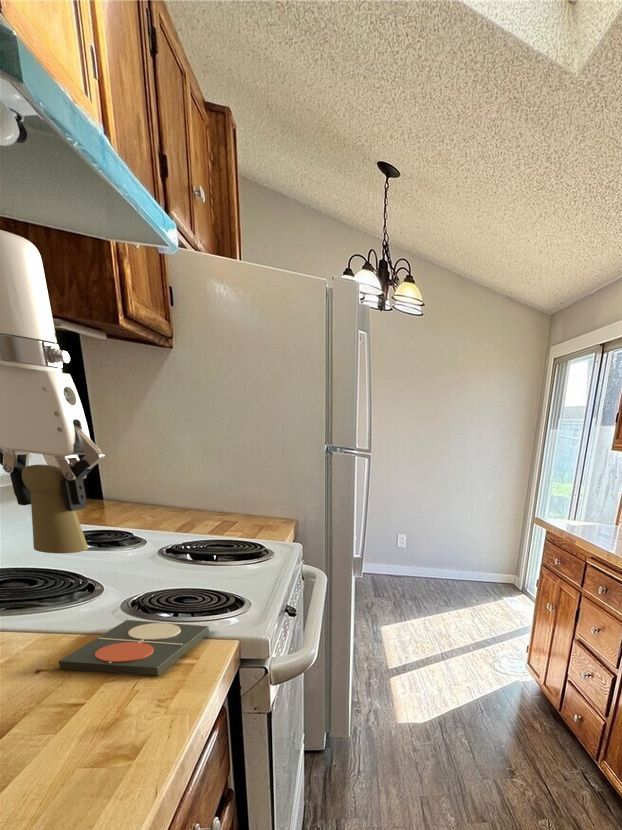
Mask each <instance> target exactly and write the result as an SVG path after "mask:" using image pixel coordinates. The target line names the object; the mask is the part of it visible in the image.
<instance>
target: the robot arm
mask: <svg viewBox="0 0 622 830" xmlns="http://www.w3.org/2000/svg"><path fill="white" fill-rule="evenodd" d="M43 264H44V263H43V260H42V255H41V254H40V252H39V250H38V248H37V247H36V246H35V244H33V243H32V241H30V240H28V239H26V238H25V237H23V236H20V235H17V234H15V233H13V232H9V231H5V230H2V229H0V465H1V466H2V469H3V471H4V472H5V473H7V474H9V476H10V480H11V485H12V489H13V494H14V496H15V497H16V501H17V502H16V503H17V504H18V505H19V506H29V505H30V506H31V492H30V490H29V489H28V488H27V487H26V486H25V484H24V482H23V480H22V471H23V469H24V468H25V467H27V466H29V462H30V455H31V454H38V455H44V456H45V455H47V456H53V457H54V459H55V461H56V463H57V464H58V467H60V469H61V471H62V473H63V475H64V477H65V479H64V480H61V486H62V491H63V496H64V501H65V506H66V509H67V510H69V511H80V510H84V509H85V510H86V507H87V505H86V503H87V496H86V491H85V485H84V479H86V478H87V477H88V476H87V475H88V474H89V473H90V472H91V471H92V470H93V469H94V467H95V466H97V465H98V464H99V463H100V462H102V461H103V460H104V459H105V454H104V452H102V449H100V448H99V446H97V445H96V444H95V442H94V441H93V440H92V439H91V437H90V431H89V427H88V422H87V419H86V416H85V412H84V408H83V404H82V402H81V399H80V396H79V393H78V390H77V387H76V385H75V383H74V381H73V378H72V376H71V374H70V373H65V372H63V363H66V364H69V363H70V361H71V357H70V354H69V353H68V351H66V350H62V349H60V346H59V344H58V341H57V335H56V330H55V323H54V320H53V319H54V318H53V314H52V309H51V303H50V297H49V292H48V287H47V286H48V285H47V281H46V276H45V270H44V265H43ZM83 455H84V456H83ZM79 456H83V457H82V458H81V459H80V458H79Z"/></svg>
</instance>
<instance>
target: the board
mask: <svg viewBox="0 0 622 830" xmlns="http://www.w3.org/2000/svg"><path fill="white" fill-rule="evenodd" d="M209 634H210V627H209V626H208V625H197V624H185V623H173V622H172V623H171V622H158V621H147V620H146V621H145V620H133V619H126V620H124V621H122V622H121V623H119V624H118V625H116V626H114V627H113V628H111V629H109V630H108V631H106V632H104V633H102V634H101V635H99V636H97V637H96V638H94V639H93V640H91V641H89V642H88V643H86V644H84V645H82V646H81V647H79V648H78V649H75V650H74V651H73V652H71V653H70V654H67V655H66V656H64V657H62V658H60V659H59V660H58V662H57V663H58V667H59V669H60V670H66V671H79V672H94V673H109V674H121V675H122V674H123V675H125V674H126V675H139V676H152V677H159V676H160V675H162V674H163V673H164V672H165V671H166V670H168V669H169V668H170V667H171V666H172V665H173V664H175V663H176V662H177V661H178V660H179V659H181V658H183V656H184V655H186V654H187V653H188V652H189V651H190V650H191V649H193V648H194V647H195V646H196V645H197V644H198V643H200V642H201V641H202V640H203V639H204V638H206V637H207V636H208V635H209Z"/></svg>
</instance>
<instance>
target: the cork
mask: <svg viewBox="0 0 622 830" xmlns="http://www.w3.org/2000/svg"><path fill="white" fill-rule="evenodd" d="M64 479H65V477H64V475H63V473H62V471H61V469H60V467H59V466H57V465H52V464H51V465H50V464H32V465H28V466H27V467H25V468H24V469H23V471H22V480H23V482H24V484H25V486H26V487H27V488H28V489H29V490H30V492H31V504H30V506H31V508H30V509H31V522H32V523H31V524H32V525H31V526H32V540H33V542H32V543H33V550H34V551H36V552H40V553H46V554H75V553H82V552H86V551H87V550H89V546H88V542H87V541H86V537H85V535H84V531H83V528H82V526H81V523H80V520H79V518H78V514H77V512H76V511H77V510H76V511H69V510H67V509H66V506H65V501H64V496H63V491H62V486H61V480H64Z"/></svg>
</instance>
